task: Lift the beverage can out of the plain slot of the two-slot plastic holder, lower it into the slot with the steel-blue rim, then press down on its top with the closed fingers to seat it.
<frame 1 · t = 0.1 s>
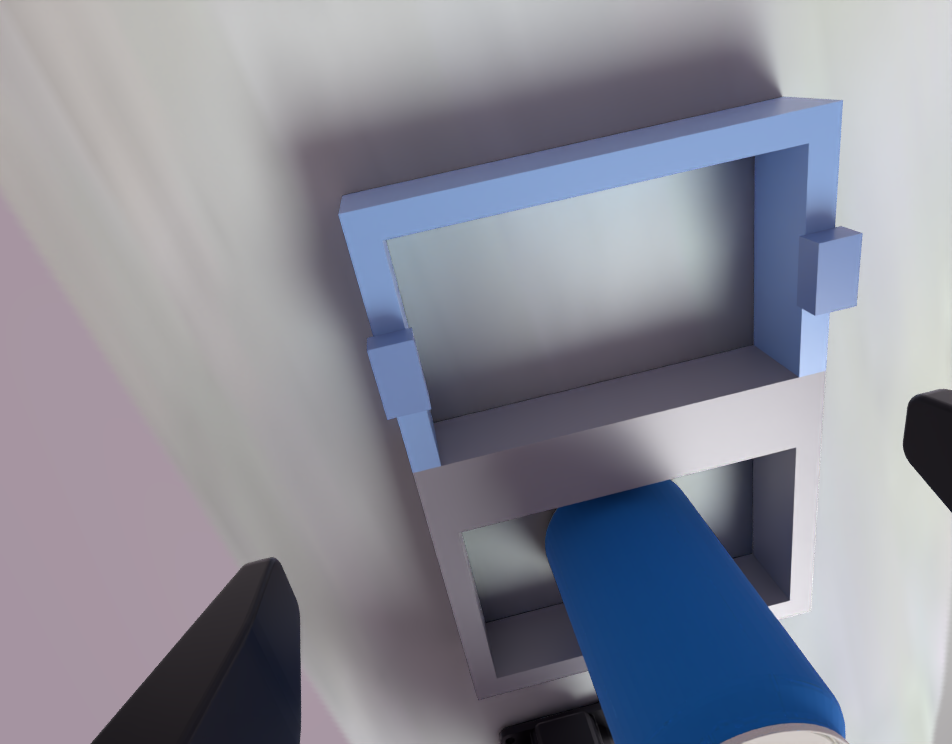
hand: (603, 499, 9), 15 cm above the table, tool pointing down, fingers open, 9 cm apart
beverage can: (610, 518, 28), resting in slot holder
slot holder: (599, 415, 26), on the table
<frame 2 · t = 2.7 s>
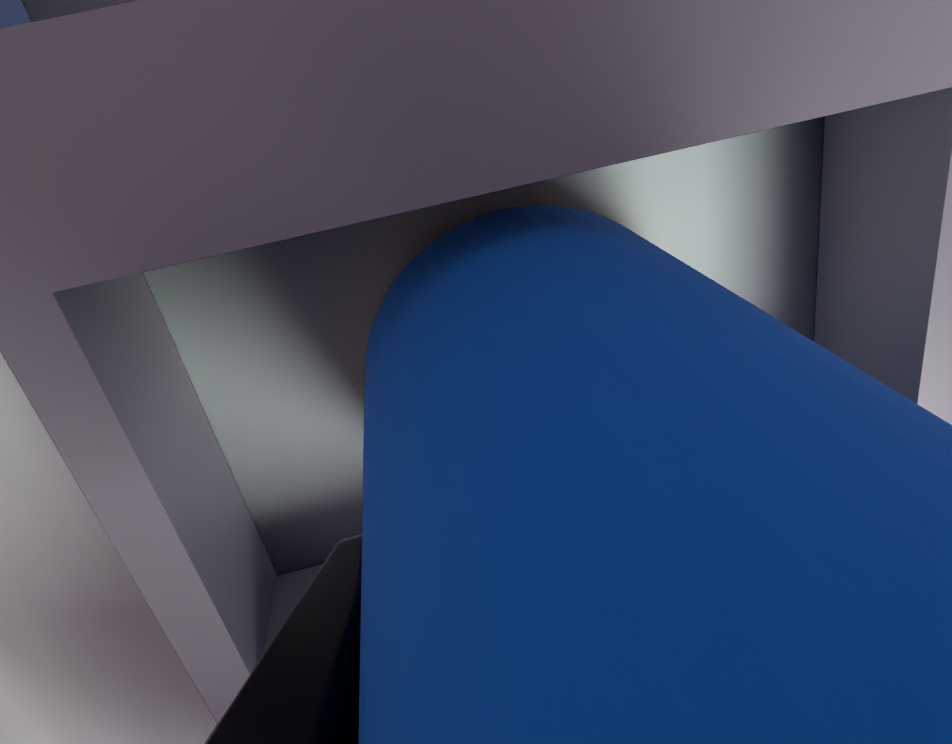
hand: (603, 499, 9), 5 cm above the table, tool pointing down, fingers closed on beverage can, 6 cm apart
beverage can: (520, 351, 13), resting in slot holder, touching gripper
slot holder: (471, 68, 11), on the table
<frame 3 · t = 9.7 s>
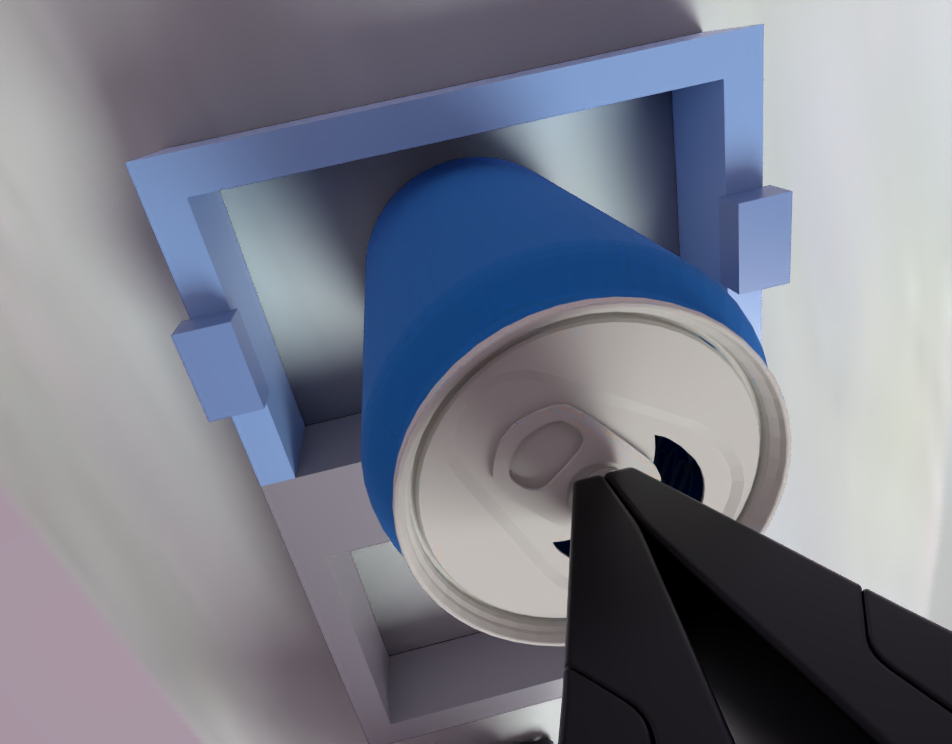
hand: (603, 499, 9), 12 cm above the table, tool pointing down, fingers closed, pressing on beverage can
beverage can: (472, 263, 20), resting in slot holder, touching gripper
slot holder: (505, 417, 22), on the table
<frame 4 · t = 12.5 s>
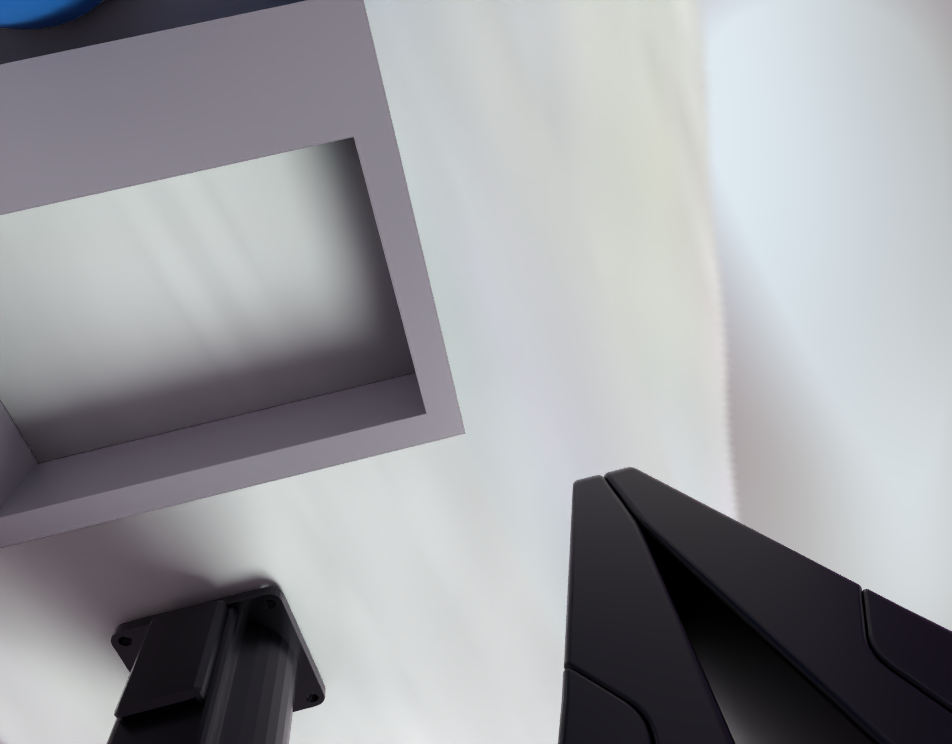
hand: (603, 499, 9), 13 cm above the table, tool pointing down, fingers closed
slot holder: (106, 121, 17), on the table
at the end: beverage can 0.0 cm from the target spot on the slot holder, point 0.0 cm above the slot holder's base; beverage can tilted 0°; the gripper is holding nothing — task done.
